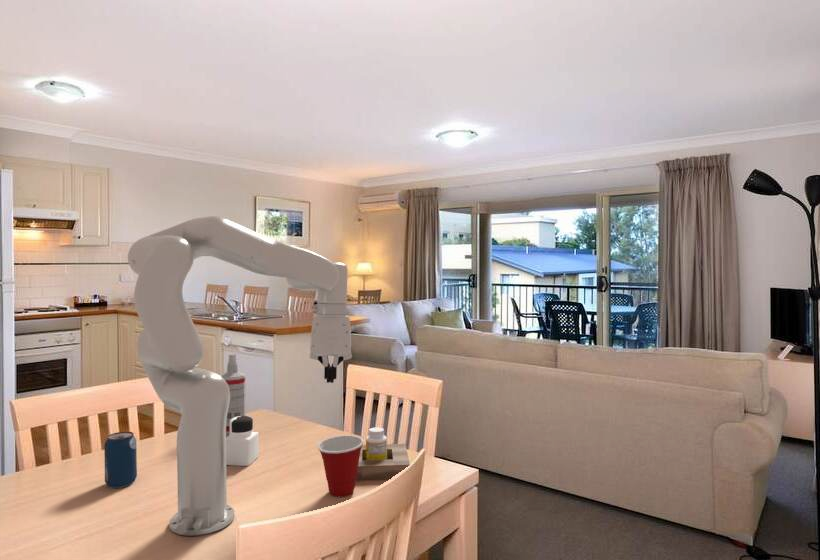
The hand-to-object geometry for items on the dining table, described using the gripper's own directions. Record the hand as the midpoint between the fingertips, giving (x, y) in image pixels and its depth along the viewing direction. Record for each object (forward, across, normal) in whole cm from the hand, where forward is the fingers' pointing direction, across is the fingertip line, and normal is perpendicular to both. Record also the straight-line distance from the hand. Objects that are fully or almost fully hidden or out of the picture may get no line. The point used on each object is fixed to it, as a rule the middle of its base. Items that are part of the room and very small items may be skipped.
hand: (330, 381), depth 137 cm
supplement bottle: (+24, +12, +4) cm, 27 cm away
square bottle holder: (+23, +13, +4) cm, 27 cm away
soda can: (+25, -50, -3) cm, 56 cm away
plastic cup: (+24, +4, -11) cm, 27 cm away
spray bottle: (+24, -34, +38) cm, 57 cm away
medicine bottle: (+24, -25, +11) cm, 36 cm away
